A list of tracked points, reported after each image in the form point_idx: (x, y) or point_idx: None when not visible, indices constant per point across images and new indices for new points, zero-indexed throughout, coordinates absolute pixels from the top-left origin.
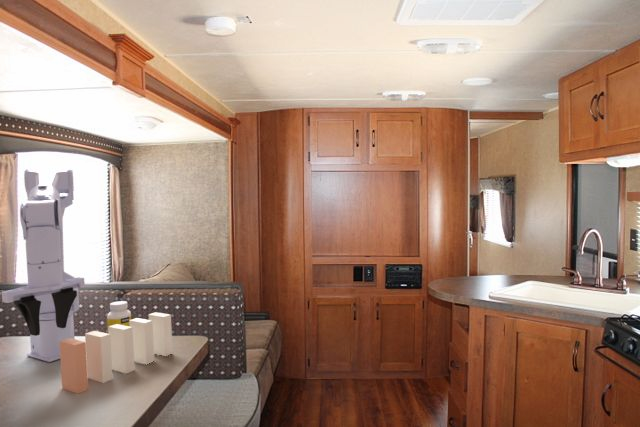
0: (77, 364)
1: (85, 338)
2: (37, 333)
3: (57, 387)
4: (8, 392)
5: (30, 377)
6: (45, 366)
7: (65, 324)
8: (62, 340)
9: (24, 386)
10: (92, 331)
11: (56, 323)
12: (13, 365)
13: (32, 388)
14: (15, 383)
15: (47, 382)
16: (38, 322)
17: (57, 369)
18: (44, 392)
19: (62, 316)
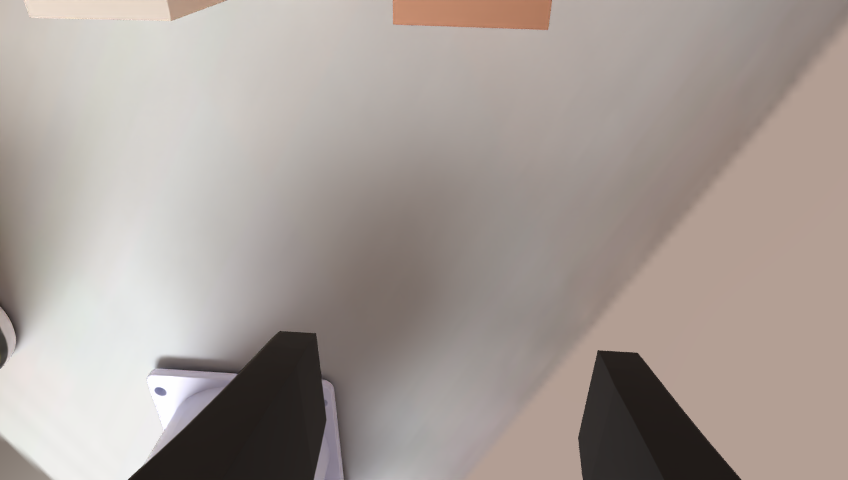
0: None
1: (202, 2)
2: (632, 364)
3: None
4: (665, 220)
5: (486, 299)
6: (366, 357)
7: (271, 351)
8: (509, 20)
9: (579, 219)
10: (62, 13)
11: (316, 459)
12: (433, 474)
13: (583, 151)
14: (568, 295)
15: (490, 154)
16: (675, 475)
17: (354, 273)
18: (601, 17)
19: (259, 460)
